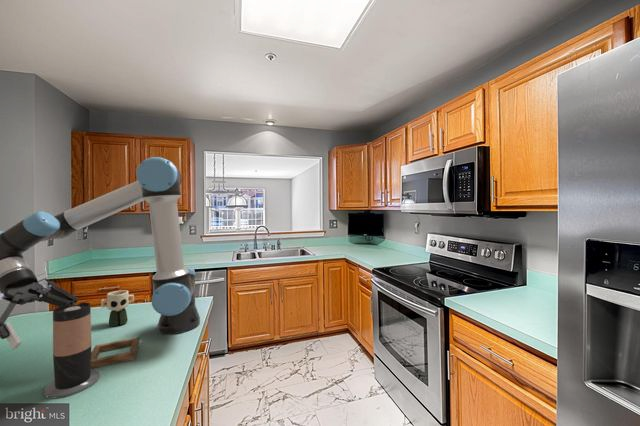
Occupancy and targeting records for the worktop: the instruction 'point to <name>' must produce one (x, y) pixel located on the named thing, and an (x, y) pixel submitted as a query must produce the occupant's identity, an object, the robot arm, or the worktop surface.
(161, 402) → the worktop surface
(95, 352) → the walnut frame
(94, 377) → the slate coaster
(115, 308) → the character mug
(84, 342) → the travel mug
